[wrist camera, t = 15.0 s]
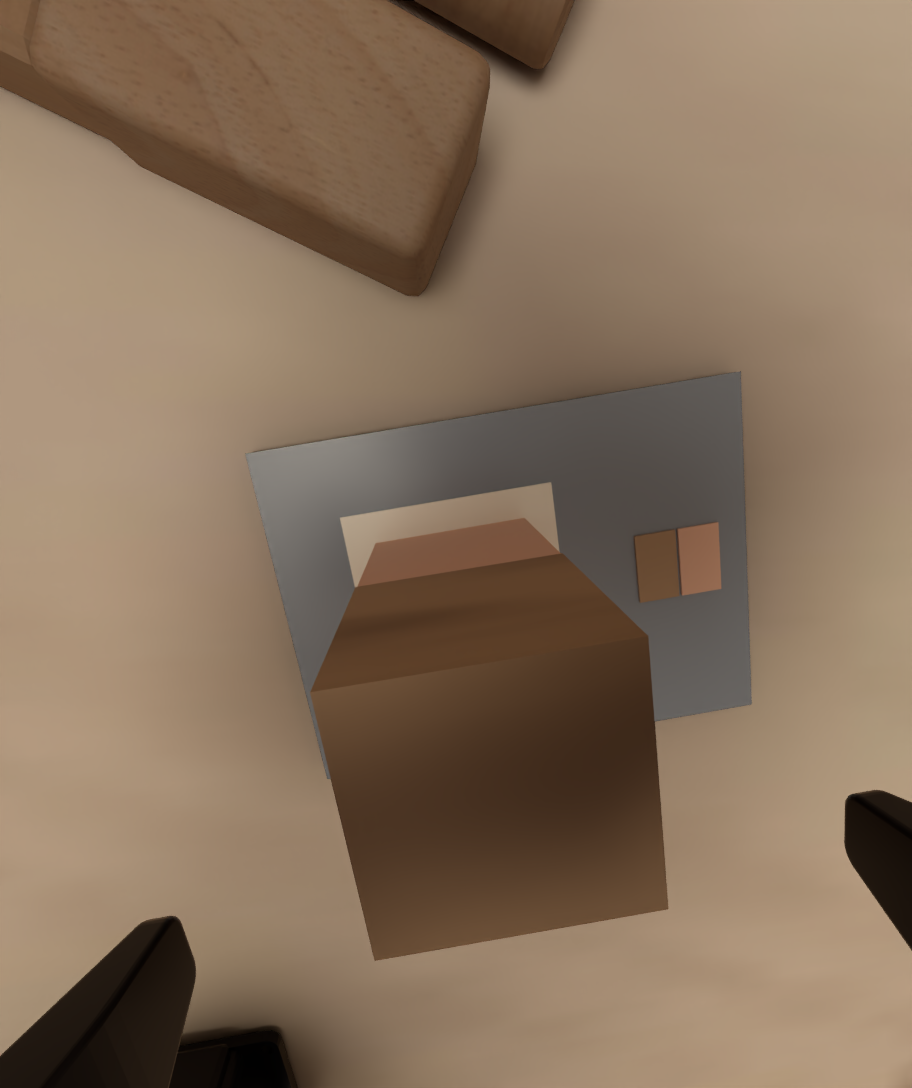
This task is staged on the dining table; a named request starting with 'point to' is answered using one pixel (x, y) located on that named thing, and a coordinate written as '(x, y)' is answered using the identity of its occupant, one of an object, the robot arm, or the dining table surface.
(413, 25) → the wooden block set
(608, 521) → the grey flat plate
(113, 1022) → the robot arm
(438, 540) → the terracotta block
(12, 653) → the dining table surface
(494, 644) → the walnut block
